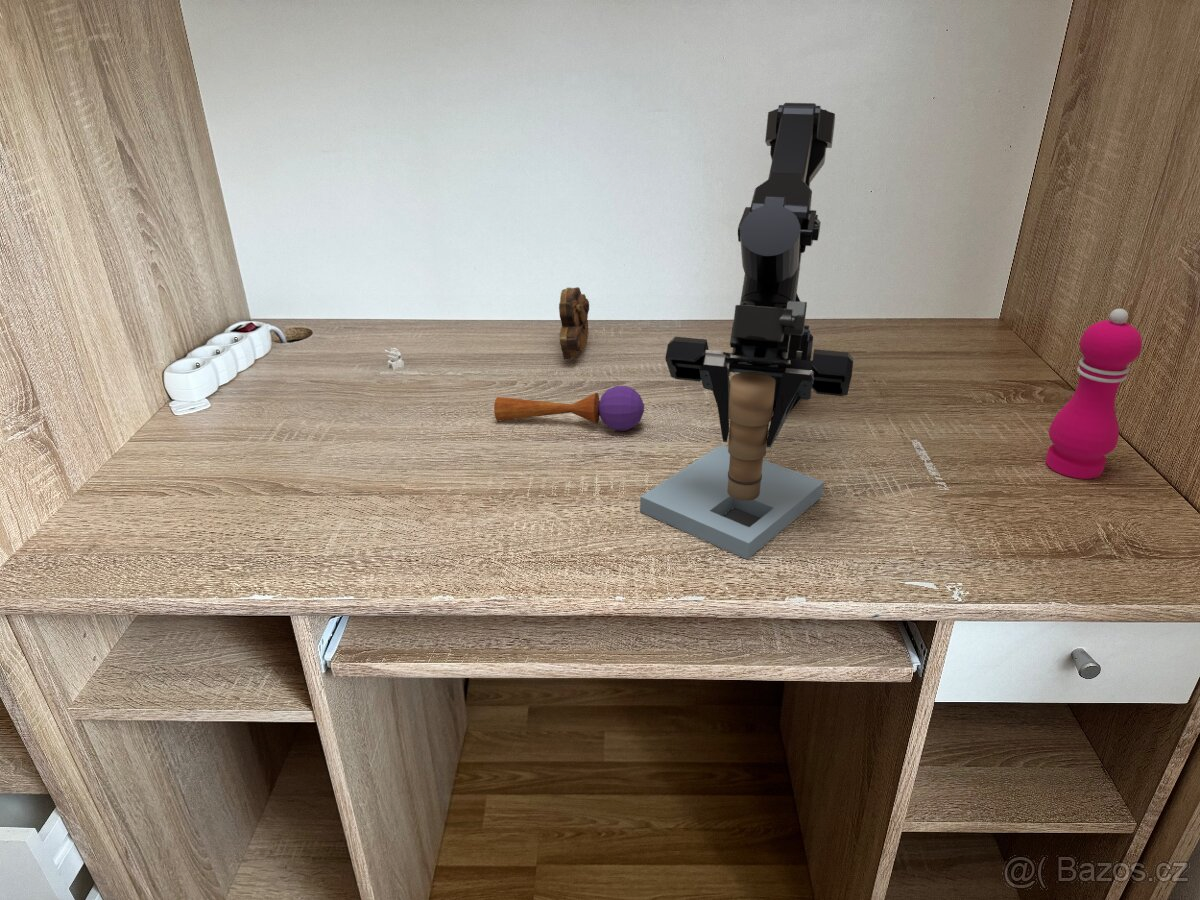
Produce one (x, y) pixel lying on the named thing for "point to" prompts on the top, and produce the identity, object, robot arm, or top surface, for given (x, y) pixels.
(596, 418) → the kendama
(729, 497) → the seat board
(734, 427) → the leg
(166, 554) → the top surface
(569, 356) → the wooden carving
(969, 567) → the top surface
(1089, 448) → the pepper mill
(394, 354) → the white figurine
